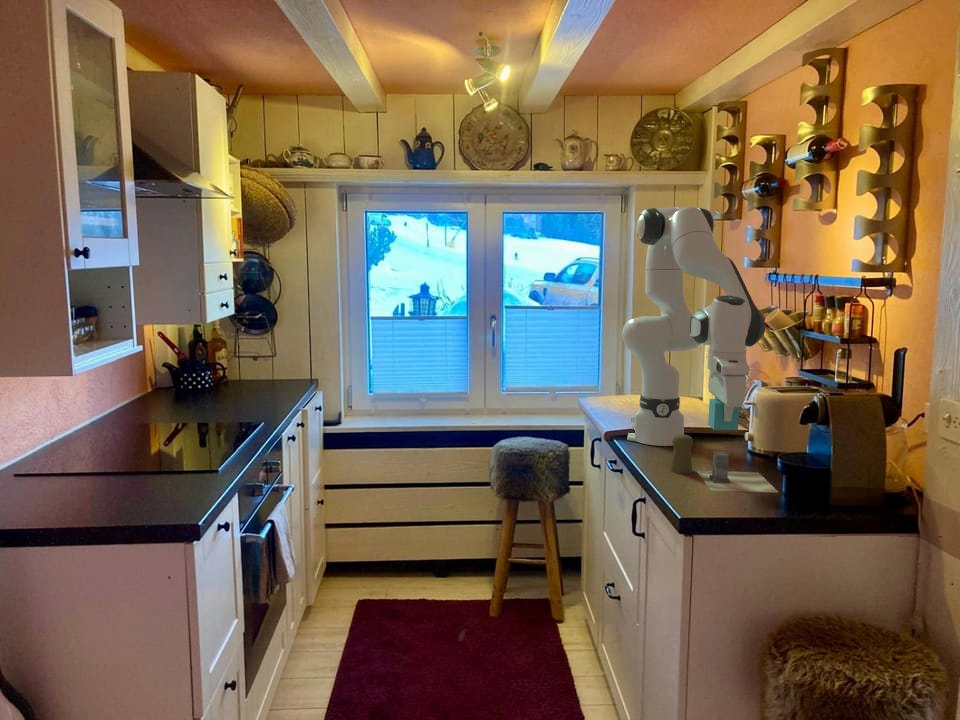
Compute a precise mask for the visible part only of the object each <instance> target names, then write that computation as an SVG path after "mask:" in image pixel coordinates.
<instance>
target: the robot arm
mask: <svg viewBox="0 0 960 720" xmlns="http://www.w3.org/2000/svg"><path fill="white" fill-rule="evenodd" d="M713 217H714V216H713V215H712V213H711V211H710V210H708V209H706V208H702V207H695V206H674V207H660V208H655V207H652V208H647V209H644V210H642V211H641V212H640V214H639V215H638V218H637V221H636V234H637V237H638V240H639V241H640V242H641V243H642V244H644V245H648V246H647V250H646V258H645V271H644V273H645V274H644V275H645V277H644V278H645V279H644V282H645V283H644V292H645V296H646V298H647V299H648V300H649V301H650V302H652V303H653V304H655V305H657V306H658V309H659V311H660V312H659V313H660V315H658V316H657V315H652V316H651V315H650V316H649V315H648V316H645V315H643V316H638V317H634V318H631V319H628V320H627V321H626V322H625V324H624V325H623V328H622V332H621V337H622V341H623V342H622V343H624V345H625V347H626V348H627V349H628V350H629V351H630V352H631V353H632V354H633V355H634V357H636V359H637V360H638V363H639V366H640V369H641V370H640V371H641V394H640V396H639V397H640V398H639V406H640V407H639V409H638V410H637V412H636V413H635V415H632V416H631V420H630V424H633V425H632V426H631V427H632V429H634V430H635V433H629V432H628V434H627V441H632V442H637V443H640V444H643V445H650V446H659V447H663V446H664V447H667V446H668V447H669V446H670V447H671V446H673V443H672V440H673V437H674V436H675V435H679V434H683V435H685V428H684V427H685V424H684V423H685V416H684V414H683V413H682V412H681V411H680V405H681V401H680V399H681V398H680V396H679V392H680V391H679V390H680V389H679V388H680V372H679V371H678V369H677V368H676V367H675V366H673V365H672V364H670V363H668V362H667V360H666V357H665V353H667V352H669V353H670V352H685V351H689V350H692V349H696V348H698V347H699V346H700V345H706V346H709V347H708V351H707V352H708V354H707V369H708V370H709V376H708V382H707V383H708V385H707V386H708V392H709V393H710V394H711V395H713V397H714V399H719V400H720V401H721V402H723V403H724V407H725V409H724V413H723V420H724V421H726V422H731V421H732V414H733V411H734V407H739V408H742V407H743V405H744V402H745V397H746V389H747V388H746V387H747V376H749V375H750V366H749V364H748V361H747V347H749V348H750V347H753V346H754V345H756V344H757V343H758V342H759V341H760V340H761V339H762V338H763V337H764V335H765V332H766V321H765V318H764V316H763V314H762V312H761V310H759V308H758V307H757V306H756V304H755V302H754V300H753V298H752V296H751V294H750V292H749V290H748V288H747V286H746V283H745V282H744V280H743V278H742V276H741V274H740V272H739V270H738V268H737V266H736V264H735V263H734V261H733V260H732V259H731V258H730V257H728V256H726V254H724V252H722V251H721V249H720V248H719V246H718V245H717V243H716V242H715V241H716V240H715V238H714V236H713V235H714V234H713V232H714V229H715V228H714V226H715V225H714V224H715V223H714V218H713ZM683 272H684V273H685V274H688V275H690V276H692V277H694V278H695V277H696V278H699V279H703V280H705V281H709V282H711V283H713V284H716V285H717V286H718V287H720V288H721V289H722V290H723V292H724V294H725V295H719V296H716V297H714V298H713V300H712V301H711V302H712V303H711V304H709V305H708V306H705V307H703V308H698V309H697V310H696V311H694V313H693V314H692V313H691V311H690V309H689V308H688V305H687V304H686V301H685V295H684V279H683V278H684V277H683V275H684V273H683Z"/></svg>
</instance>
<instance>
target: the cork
mask: <svg viewBox="0 0 960 720" xmlns="http://www.w3.org/2000/svg"><path fill="white" fill-rule="evenodd" d="M672 443H673V445H672V446H673V452H672V458H671V463H670V468H669V470H670V471H671V473H675V474H683V475H687V474H691V473H693V466H692V464H693V463H692V451H691V448H692V447H693V444H694V440H693V438H692V436H690V435H688V434H684V435H683V434H679V435H675V436H674V437H673V440H672Z"/></svg>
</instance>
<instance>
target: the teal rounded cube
mask: <svg viewBox="0 0 960 720" xmlns="http://www.w3.org/2000/svg"><path fill="white" fill-rule="evenodd" d="M708 404H709V405H708V420H707V421H708V422H707V425H708V426H709V427H710V428H711V429H713V431H739V419H740V417H739V415H740V407H734V411H733V414H732V421H731V422H726V421H724V420H723V413H724V409H725V407H724V403H723V402H721V401H720V400H719V399H715V398H709V403H708Z"/></svg>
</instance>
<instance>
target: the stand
mask: <svg viewBox="0 0 960 720" xmlns="http://www.w3.org/2000/svg"><path fill="white" fill-rule="evenodd" d="M712 455H713V456H712V457H713V458H712V470H696V473H698V475H699V476H700V478H701V479H702V481H703V482H704V484H705V485H706V486H707V487H708V488H709V490H710V491H713V492H714V491H718V492H742V493H743V492H745V493H747V492H748V493H750V492H751V493H774V494H777V493H778V494H779V491H778V490H777V489H776V488H775V487H774V486H773V485H772V484H771V483H770V482H769V481H768V480H767V479H766V478H765V477H764V476H763V475H762V474H761V473H760V472H755V471H754V472H750V471H749V472H748V471H729V458H730V455H729V454H728V453H727V452H726V451H713V454H712Z"/></svg>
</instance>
